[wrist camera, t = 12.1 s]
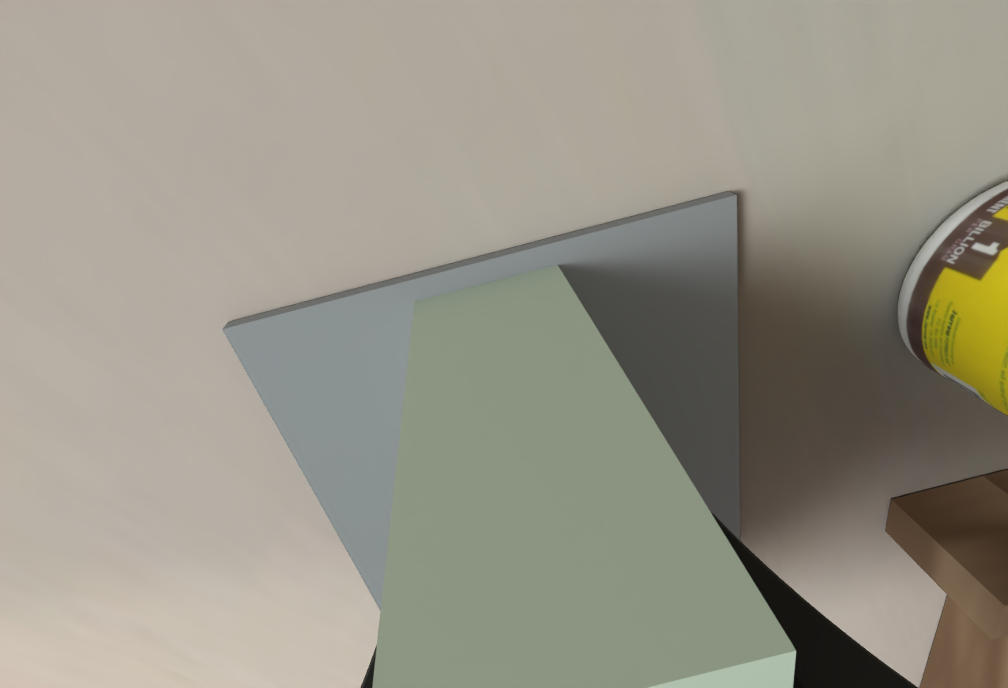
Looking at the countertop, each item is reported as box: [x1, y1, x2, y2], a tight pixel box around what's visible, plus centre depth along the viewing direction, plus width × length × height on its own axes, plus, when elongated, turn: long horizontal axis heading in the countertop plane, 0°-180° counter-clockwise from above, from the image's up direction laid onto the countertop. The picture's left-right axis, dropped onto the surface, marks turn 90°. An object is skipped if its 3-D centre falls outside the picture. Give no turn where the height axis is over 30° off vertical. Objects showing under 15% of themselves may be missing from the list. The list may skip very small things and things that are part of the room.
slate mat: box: [222, 191, 740, 611], centre depth 15 cm, size 12×12×1 cm
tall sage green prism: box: [372, 265, 796, 688], centre depth 11 cm, size 3×11×9 cm, turn 13°
